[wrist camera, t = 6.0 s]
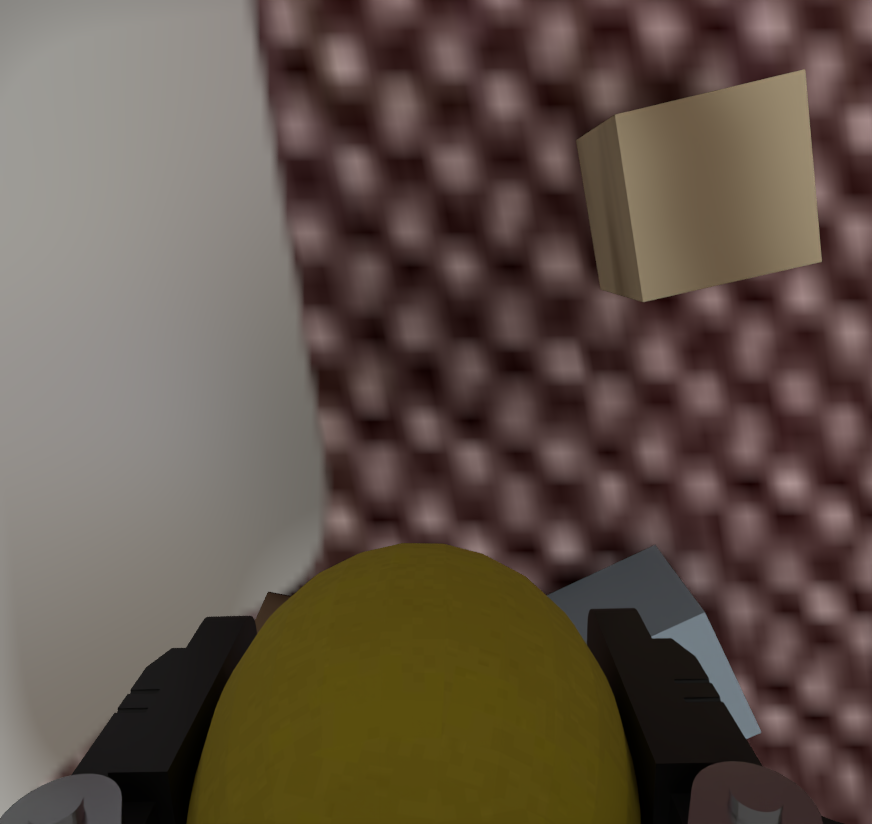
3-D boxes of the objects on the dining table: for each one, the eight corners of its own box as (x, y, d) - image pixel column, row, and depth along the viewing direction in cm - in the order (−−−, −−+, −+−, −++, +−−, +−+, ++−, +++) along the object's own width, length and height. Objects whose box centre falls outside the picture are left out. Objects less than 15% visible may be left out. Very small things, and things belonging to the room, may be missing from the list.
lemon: (276, 728, 14) (59, 1366, 6) (282, 462, 12) (11, 836, 5) (554, 747, 14) (699, 1404, 6) (590, 485, 12) (836, 891, 5)
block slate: (654, 543, 27) (704, 612, 22) (703, 645, 28) (761, 732, 23) (537, 598, 27) (560, 677, 22) (589, 696, 28) (623, 791, 23)
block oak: (724, 105, 23) (805, 69, 18) (741, 257, 24) (821, 261, 19) (575, 140, 23) (615, 114, 18) (600, 289, 24) (643, 301, 19)
